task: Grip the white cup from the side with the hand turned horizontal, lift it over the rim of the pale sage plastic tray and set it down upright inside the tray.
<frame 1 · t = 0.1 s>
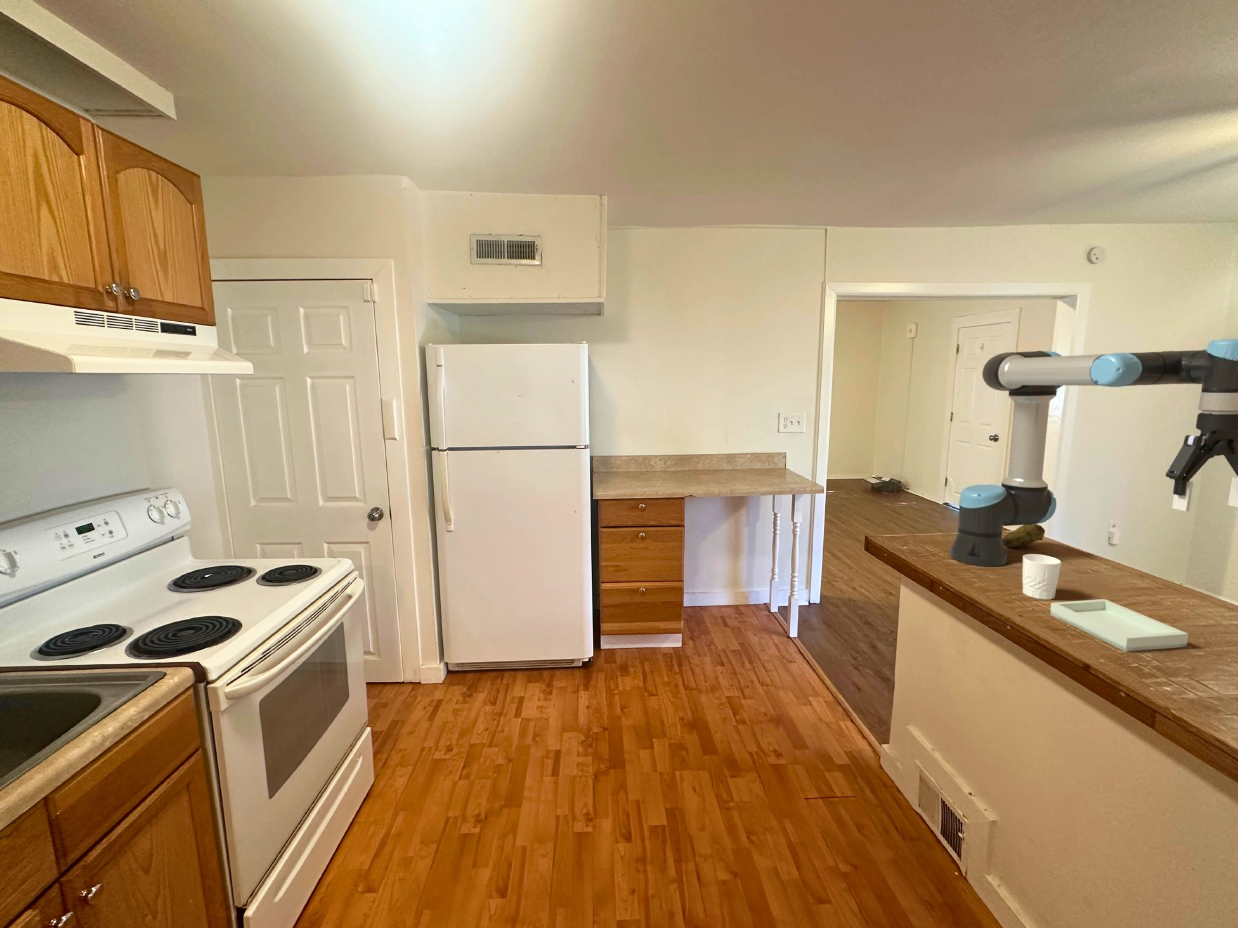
hand: (1208, 508, 116), 28 cm above the counter, tool pointing down, fingers open, 13 cm apart
white cup: (1038, 595, 140), on the counter
avocado: (1021, 547, 177), on the counter
tray: (1113, 629, 120), on the counter
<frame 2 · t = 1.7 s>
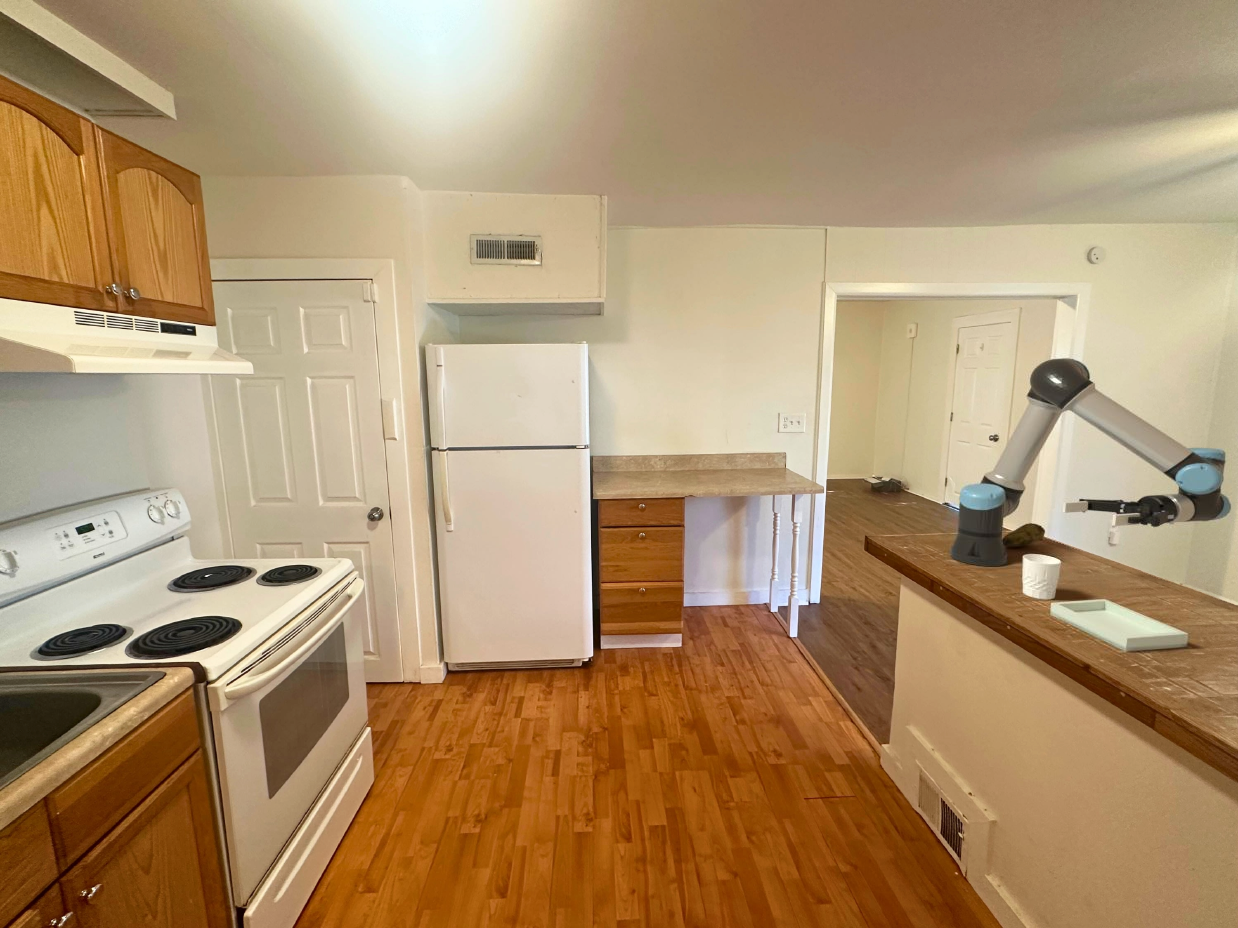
hand: (1087, 513, 137), 22 cm above the counter, tool horizontal, fingers open, 13 cm apart
nothing on the counter moved.
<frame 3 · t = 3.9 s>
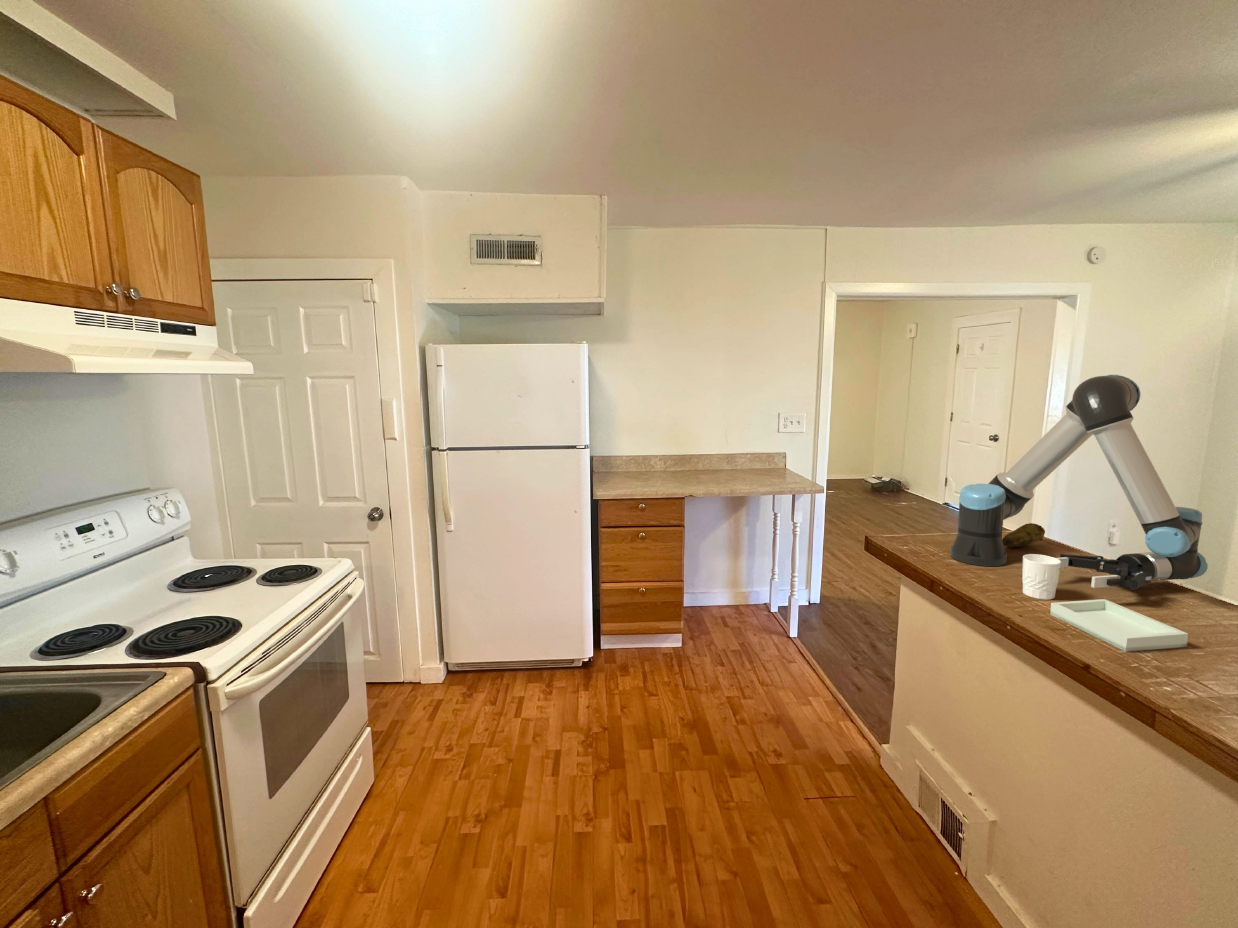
hand: (1067, 572, 139), 6 cm above the counter, tool horizontal, fingers open, 13 cm apart
nothing on the counter moved.
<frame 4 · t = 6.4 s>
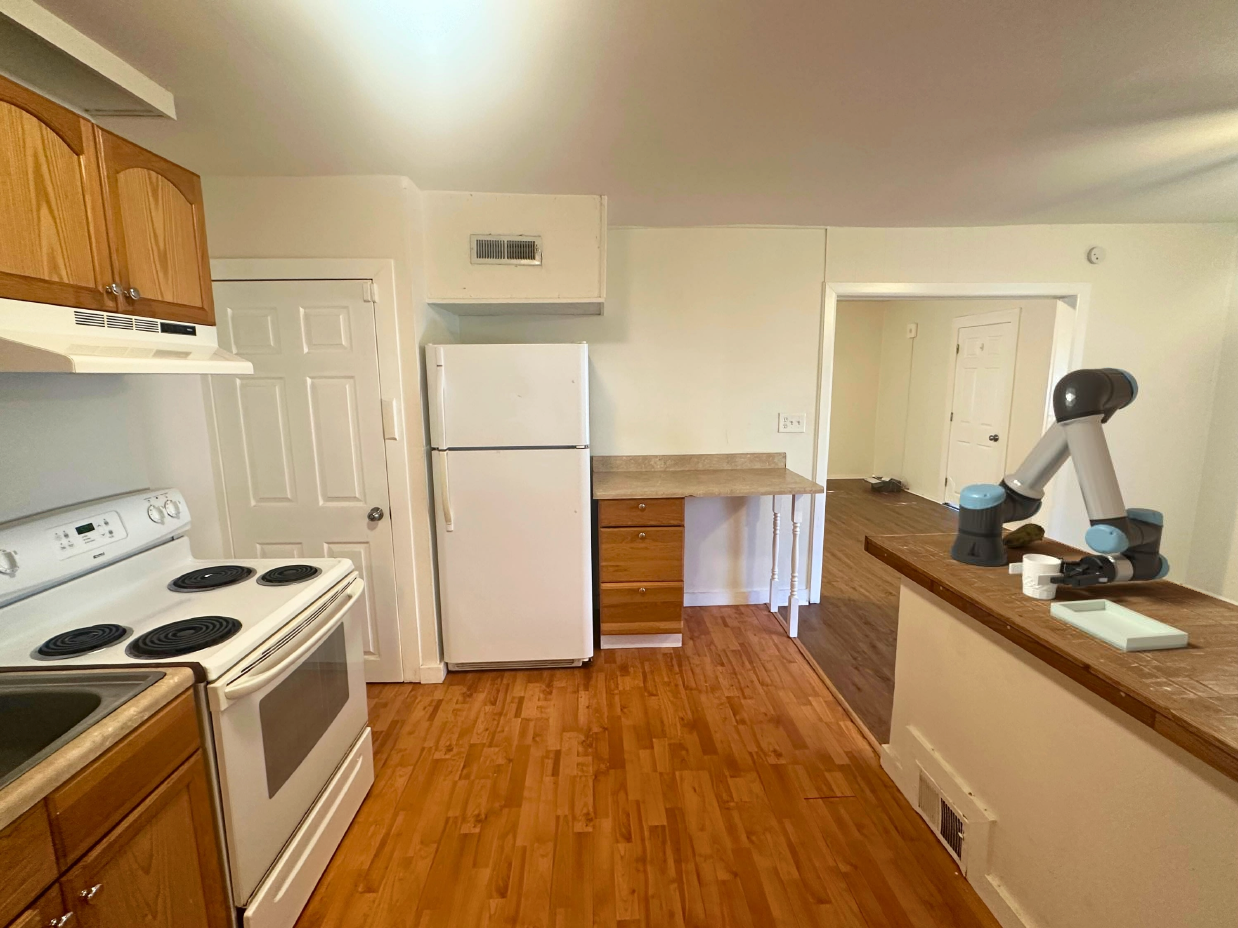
hand: (1023, 574, 138), 6 cm above the counter, tool horizontal, fingers closed on white cup, 8 cm apart
white cup: (1038, 595, 140), on the counter, touching gripper
everything else where it was.
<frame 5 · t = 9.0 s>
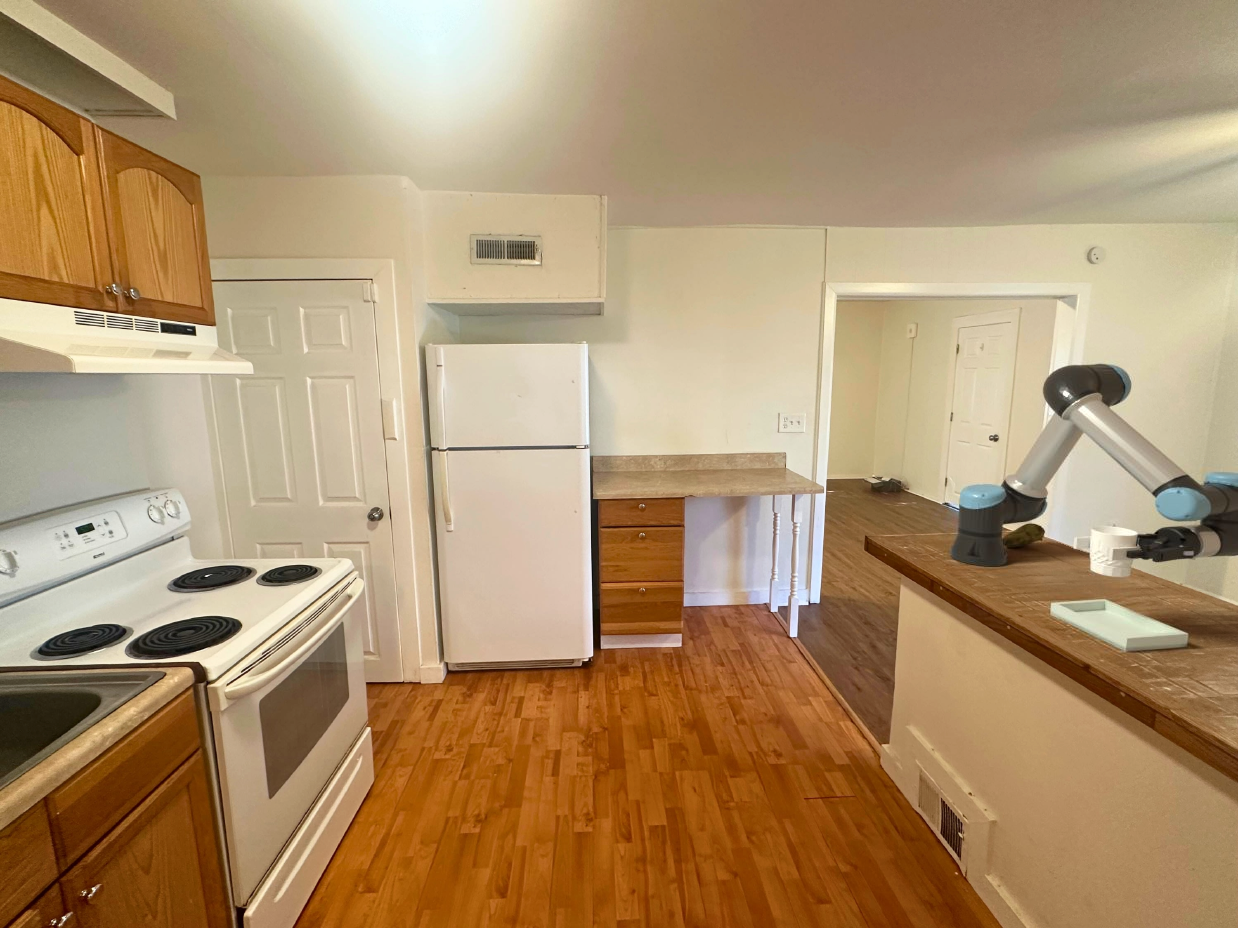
hand: (1092, 548, 119), 19 cm above the counter, tool horizontal, fingers closed on white cup, 8 cm apart
white cup: (1109, 573, 121), point 12 cm above the counter, touching gripper
everything else where it was.
when the fingers open (9 cm above the counter, at t = 11.5 s): white cup drops 2 cm, resting on tray.
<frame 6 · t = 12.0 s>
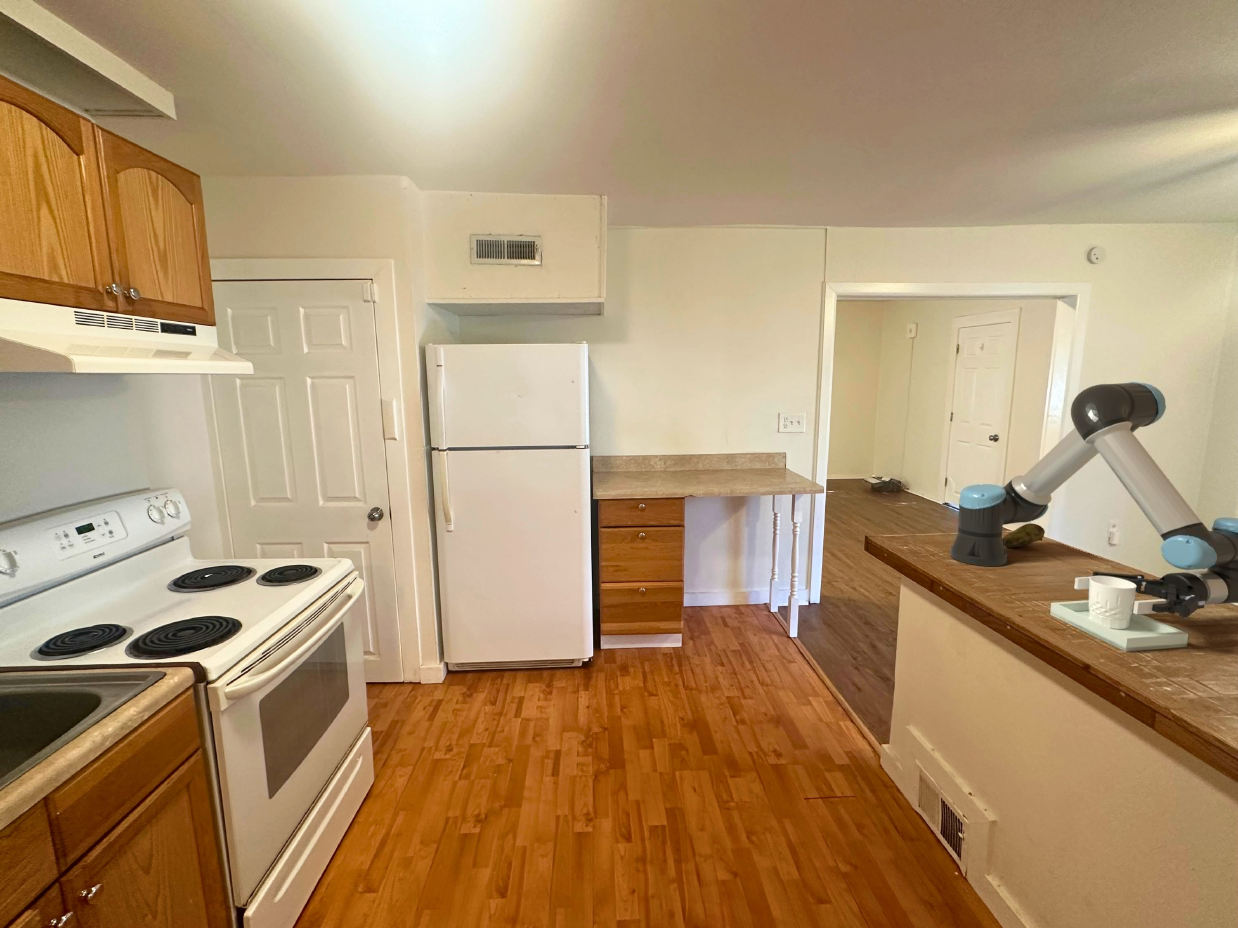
hand: (1104, 594, 118), 9 cm above the counter, tool horizontal, fingers open, 13 cm apart
white cup: (1108, 623, 121), point 1 cm above the counter, touching tray
everything else where it was.
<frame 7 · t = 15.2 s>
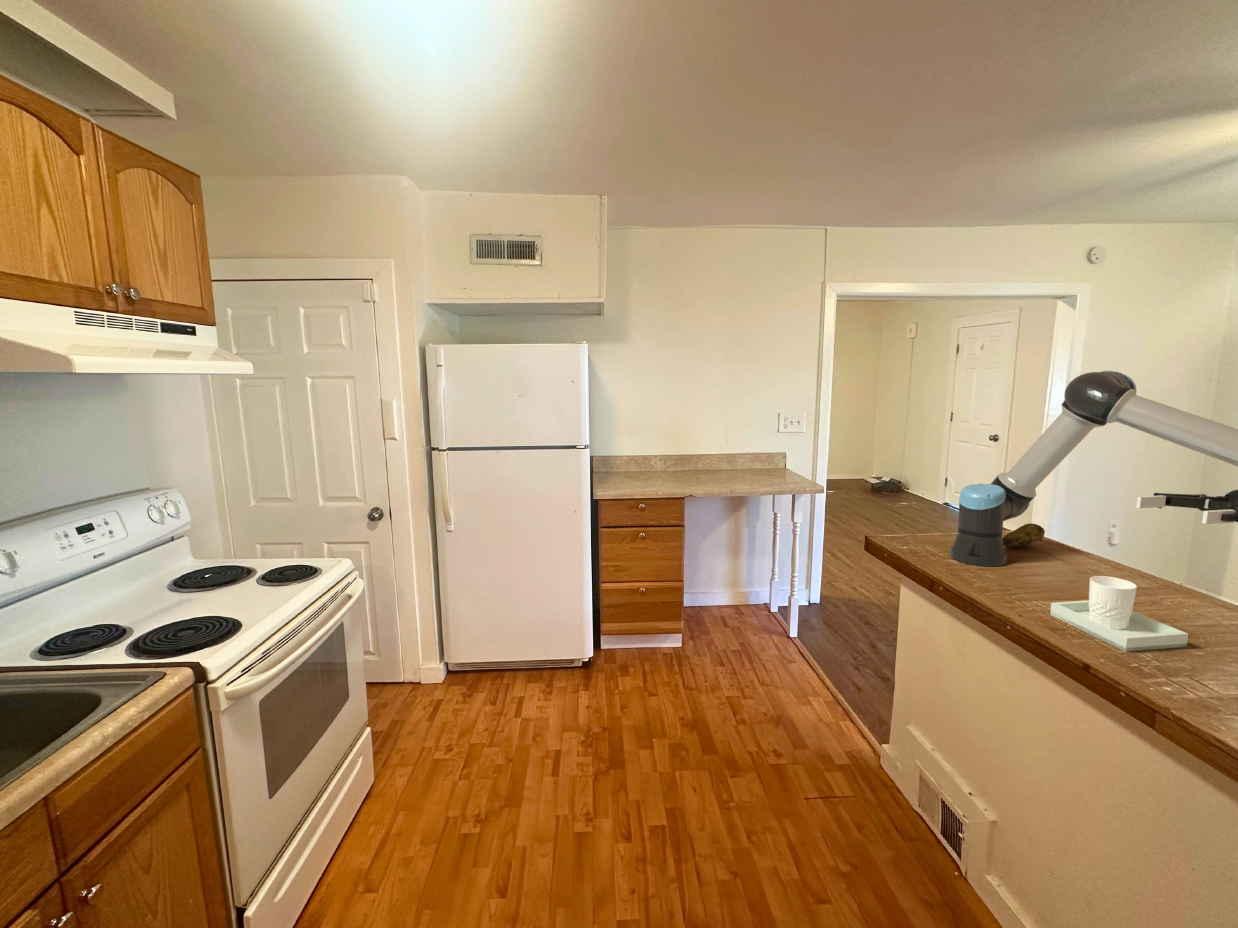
hand: (1169, 509, 119), 27 cm above the counter, tool horizontal, fingers open, 13 cm apart
nothing on the counter moved.
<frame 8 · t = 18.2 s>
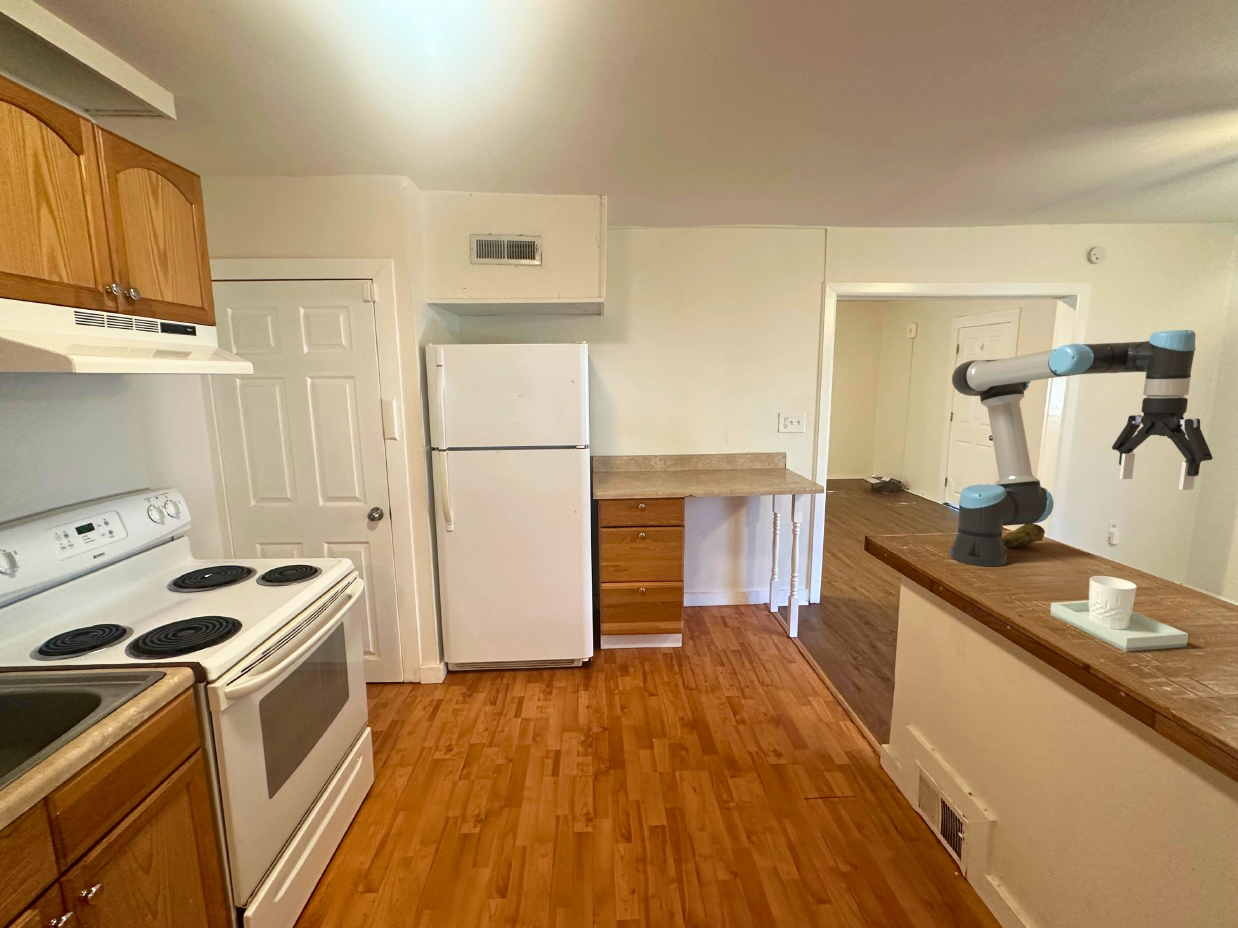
hand: (1154, 483, 128), 31 cm above the counter, tool pointing down, fingers open, 13 cm apart
nothing on the counter moved.
at the end: white cup inside the target area on the tray (1.5 cm from its centre), point 0.6 cm above the tray's base; white cup tilted 0°; the gripper is holding nothing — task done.
